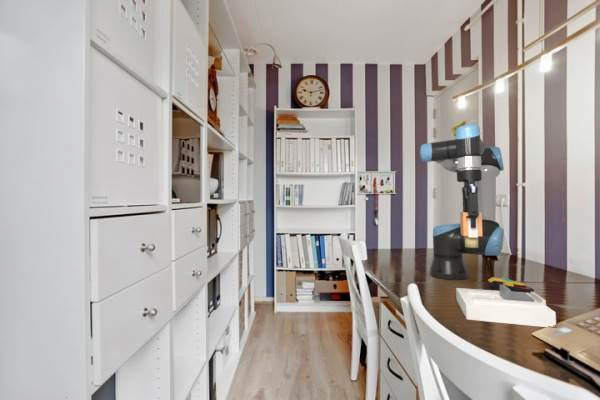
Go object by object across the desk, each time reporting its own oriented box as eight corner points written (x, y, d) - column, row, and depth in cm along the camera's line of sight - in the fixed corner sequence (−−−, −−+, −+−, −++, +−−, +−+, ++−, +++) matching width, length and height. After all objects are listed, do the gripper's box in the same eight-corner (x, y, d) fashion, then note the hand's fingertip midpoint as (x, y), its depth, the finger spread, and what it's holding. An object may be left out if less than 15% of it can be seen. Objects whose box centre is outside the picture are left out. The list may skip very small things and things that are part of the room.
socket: (456, 300, 98) (455, 283, 99) (528, 305, 92) (527, 287, 92) (466, 319, 81) (466, 298, 82) (556, 328, 75) (555, 305, 75)
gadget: (535, 303, 97) (538, 286, 97) (490, 294, 101) (492, 278, 101) (527, 297, 103) (529, 282, 103) (484, 289, 107) (486, 274, 107)
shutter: (499, 295, 89) (499, 284, 89) (525, 296, 87) (525, 286, 87) (506, 301, 83) (506, 290, 83) (534, 303, 81) (533, 291, 81)
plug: (461, 245, 106) (460, 212, 106) (479, 246, 104) (477, 212, 104) (464, 247, 101) (462, 212, 101) (482, 248, 99) (481, 212, 99)
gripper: (452, 173, 113) (455, 234, 113) (461, 167, 96) (463, 239, 95) (475, 172, 111) (477, 234, 110) (488, 165, 93) (490, 239, 93)
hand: (471, 236), depth 103 cm, fingers closed on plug, 6 cm apart
